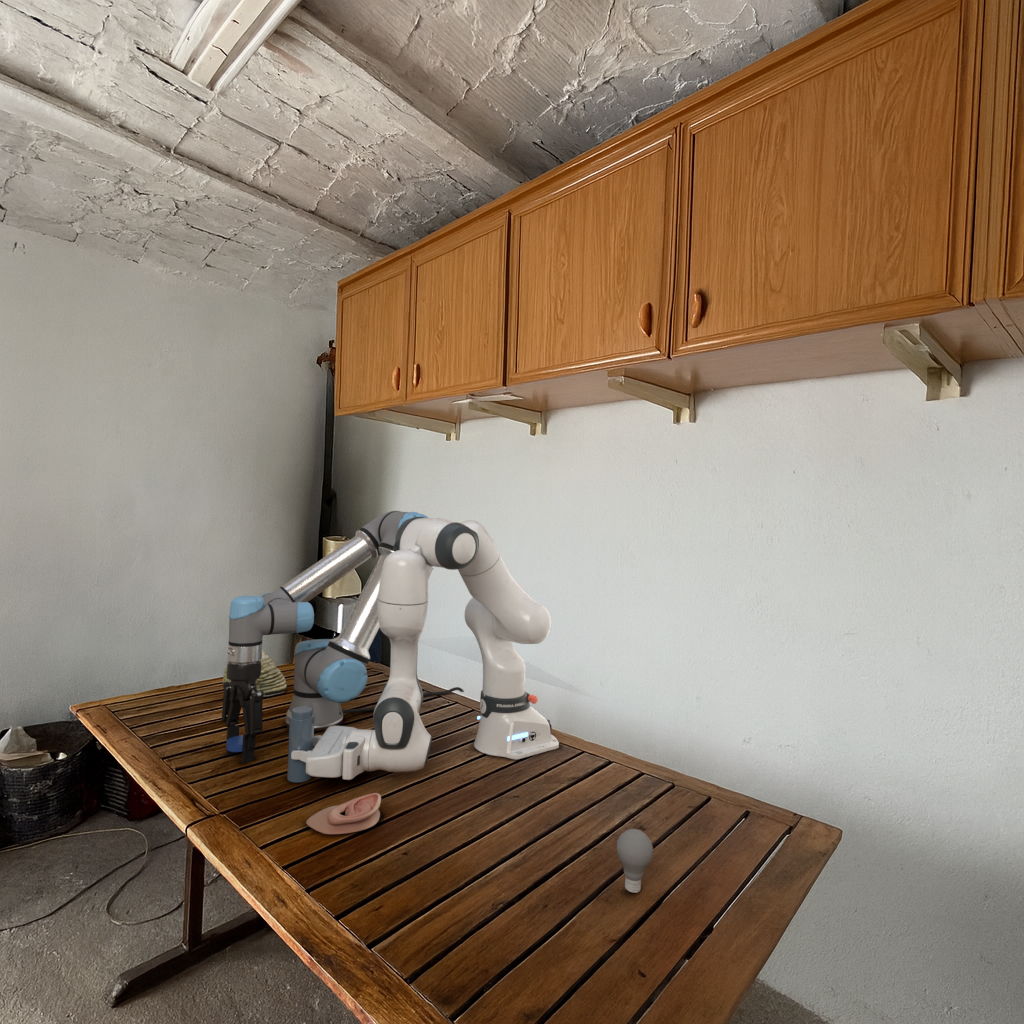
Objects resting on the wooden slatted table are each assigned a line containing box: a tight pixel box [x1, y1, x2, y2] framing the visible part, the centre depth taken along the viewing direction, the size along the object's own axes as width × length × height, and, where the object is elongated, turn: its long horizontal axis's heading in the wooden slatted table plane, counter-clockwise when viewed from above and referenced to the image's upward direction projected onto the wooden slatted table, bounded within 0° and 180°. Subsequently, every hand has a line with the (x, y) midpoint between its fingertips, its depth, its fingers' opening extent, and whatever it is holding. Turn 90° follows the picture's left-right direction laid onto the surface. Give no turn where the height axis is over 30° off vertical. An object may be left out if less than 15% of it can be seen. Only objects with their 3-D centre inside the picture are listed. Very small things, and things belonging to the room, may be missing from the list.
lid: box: [225, 734, 243, 753], centre depth 151 cm, size 6×6×2 cm
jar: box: [286, 706, 315, 784], centre depth 142 cm, size 5×5×15 cm
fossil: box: [222, 648, 288, 698], centre depth 198 cm, size 9×18×15 cm, turn 132°
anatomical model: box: [305, 792, 382, 835], centre depth 124 cm, size 13×4×12 cm
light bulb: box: [615, 828, 654, 894], centre depth 106 cm, size 6×6×10 cm
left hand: (240, 757), depth 152 cm, fingers closed on lid, 6 cm apart
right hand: (296, 748), depth 142 cm, fingers closed on jar, 5 cm apart
